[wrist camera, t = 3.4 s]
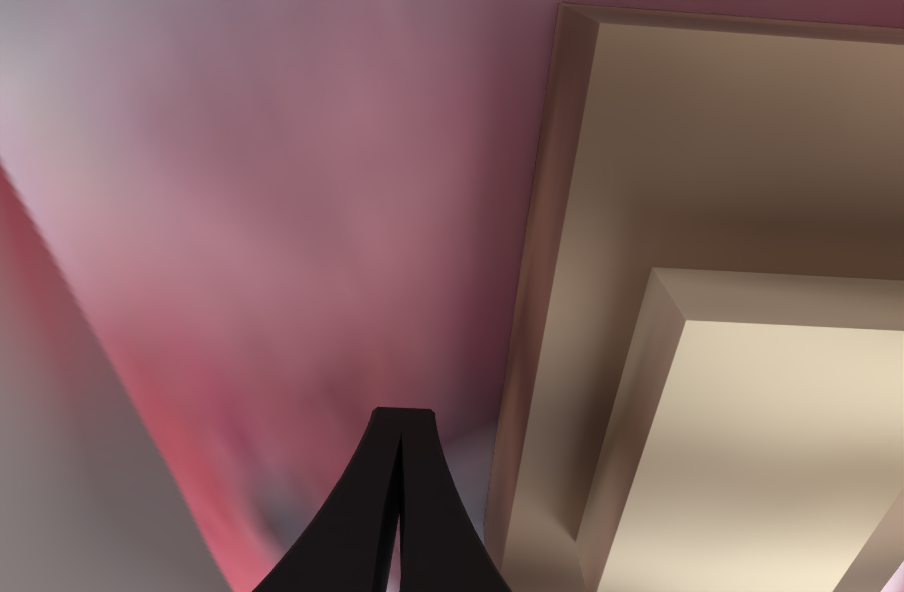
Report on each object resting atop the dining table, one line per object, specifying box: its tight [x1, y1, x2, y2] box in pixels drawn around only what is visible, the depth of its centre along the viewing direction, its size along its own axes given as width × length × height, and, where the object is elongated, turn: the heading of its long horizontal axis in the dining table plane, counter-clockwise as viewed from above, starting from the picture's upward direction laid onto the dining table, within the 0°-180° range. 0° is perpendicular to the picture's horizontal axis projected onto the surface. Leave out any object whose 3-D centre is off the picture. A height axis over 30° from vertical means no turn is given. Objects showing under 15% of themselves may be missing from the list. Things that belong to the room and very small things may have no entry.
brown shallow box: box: [483, 3, 904, 592], centre depth 16 cm, size 18×12×4 cm, turn 176°
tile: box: [576, 267, 904, 592], centre depth 14 cm, size 9×6×2 cm, turn 176°
